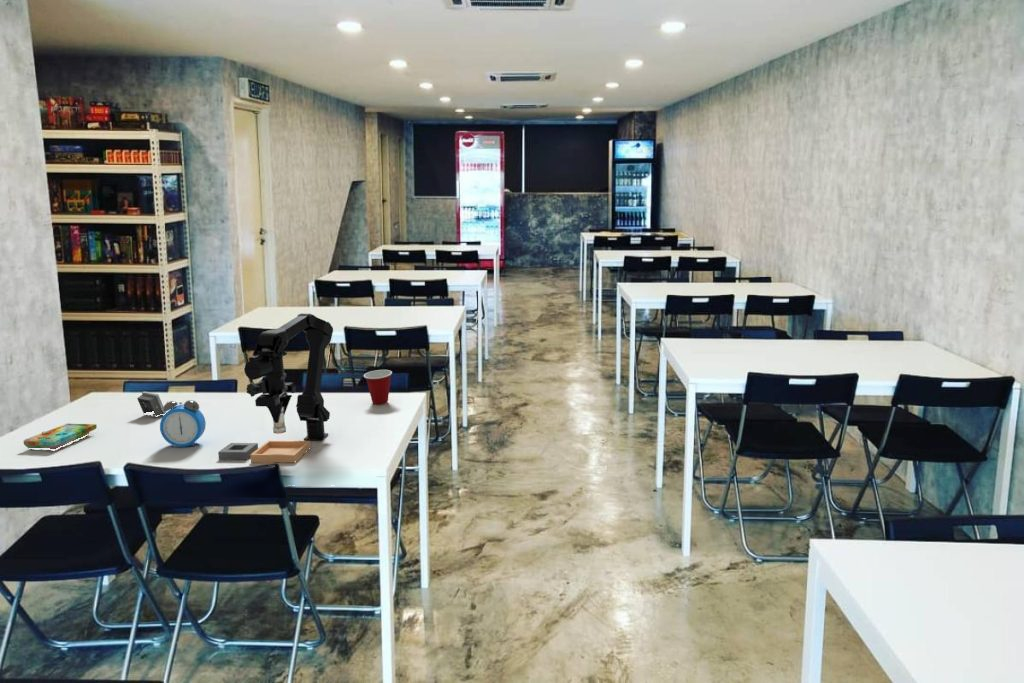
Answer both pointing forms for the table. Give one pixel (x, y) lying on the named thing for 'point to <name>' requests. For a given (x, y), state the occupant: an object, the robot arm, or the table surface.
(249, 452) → the block
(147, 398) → the electrical switch
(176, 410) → the alarm clock
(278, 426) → the cylinder
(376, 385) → the plastic cup
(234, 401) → the table surface
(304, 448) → the tray
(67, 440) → the puzzle game
